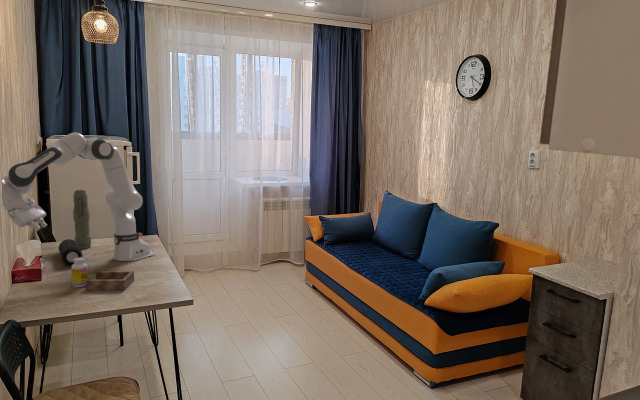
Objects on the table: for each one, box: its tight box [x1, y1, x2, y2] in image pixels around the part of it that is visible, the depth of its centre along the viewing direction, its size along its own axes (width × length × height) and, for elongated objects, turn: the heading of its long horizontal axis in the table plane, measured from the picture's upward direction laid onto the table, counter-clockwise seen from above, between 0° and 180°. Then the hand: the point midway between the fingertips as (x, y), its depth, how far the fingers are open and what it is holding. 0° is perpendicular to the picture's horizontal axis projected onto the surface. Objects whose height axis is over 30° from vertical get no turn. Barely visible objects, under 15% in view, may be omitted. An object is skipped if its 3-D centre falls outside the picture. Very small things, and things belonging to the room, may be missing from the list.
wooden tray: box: [84, 270, 135, 291], centre depth 225 cm, size 18×14×5 cm
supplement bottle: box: [71, 257, 89, 288], centre depth 223 cm, size 7×7×13 cm
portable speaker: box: [58, 238, 83, 267], centre depth 262 cm, size 26×10×10 cm, turn 32°
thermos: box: [72, 189, 92, 250], centre depth 288 cm, size 9×12×35 cm
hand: (42, 228), depth 218 cm, fingers open, 5 cm apart
